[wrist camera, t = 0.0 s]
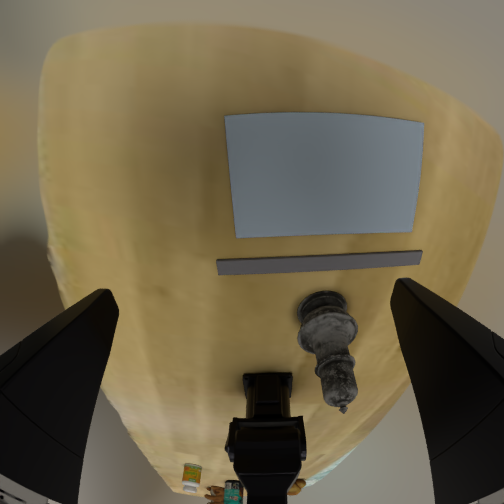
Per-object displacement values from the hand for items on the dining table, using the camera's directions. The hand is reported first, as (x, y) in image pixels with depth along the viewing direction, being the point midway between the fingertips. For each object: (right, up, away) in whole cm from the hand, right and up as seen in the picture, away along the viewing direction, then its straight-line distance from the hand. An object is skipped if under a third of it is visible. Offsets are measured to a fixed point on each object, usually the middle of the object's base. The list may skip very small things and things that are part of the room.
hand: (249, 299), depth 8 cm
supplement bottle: (-18, -65, +56) cm, 87 cm away
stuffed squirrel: (-14, -106, +80) cm, 133 cm away
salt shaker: (+7, -5, +20) cm, 22 cm away
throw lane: (+7, +6, +13) cm, 16 cm away
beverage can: (-6, -85, +67) cm, 108 cm away
